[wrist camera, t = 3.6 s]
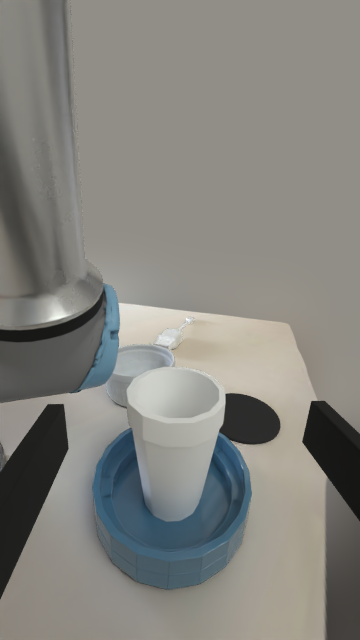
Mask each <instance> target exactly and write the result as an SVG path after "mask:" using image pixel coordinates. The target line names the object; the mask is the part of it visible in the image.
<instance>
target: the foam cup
mask: <svg viewBox="0 0 360 640" xmlns="http://www.w3.org/2000/svg"><path fill="white" fill-rule="evenodd" d="M126 392H127V415H128V421H129V426H130V427H131V428H132V431H133V437H134V443H135V449H136V454H137V460H138V466H139V472H140V477H141V483H142V489H143V495H144V500H145V505H146V506H147V508H148V509H149V510H150V512H151V513H152V514H153V516H155V517H157V518H160V519H162V520H164V521H166V522H168V521H181V520H183V519H185V518H186V517H188V516H190V515H191V514H193V512H194V510H195V509H196V507H197V505H198V504H199V500H200V499H201V495H202V491H203V488H204V484H205V480H206V477H207V473H208V469H209V466H210V462H211V458H212V455H213V451H214V447H215V444H216V440H217V436H218V433H219V429H220V428H221V426H222V425H223V421H224V412H225V403H226V400H225V389H224V388H223V386H222V385H221V384H220V383H219V382H218V381H217V379H216V378H214V377H212V376H210V375H208V374H206V373H204V372H202V371H200V370H195V369H191V368H186V367H162V368H157V369H153V370H148V371H146V372H144V373H143V374H141V375H139V376H137V377H136V378H134V379H133V381H132V382H131V384H130V385H129V387H128V388H127V390H126Z"/></svg>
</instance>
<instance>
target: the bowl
mask: <svg viewBox="0 0 360 640" xmlns="http://www.w3.org/2000/svg"><path fill="white" fill-rule="evenodd" d="M92 489H93V502H94V513H95V520H96V526H97V533H98V538H99V540H100V541H101V543H102V545H103V547H104V549H105V550H106V552H107V554H108V556H109V557H110V559H111V561H112V562H113V563H114V564H115V565H116V566H117V567H119V568H120V569H121V570H123V571H124V572H125V573H126V574H128V575H129V576H130V577H132V578H133V579H134V580H135V581H137V582H139V583H143V584H147V585H151V586H155V587H159V588H163V589H168V590H170V589H176V588H182V587H188V586H193V585H199V584H201V583H202V582H204V581H205V580H207V579H208V578H210V577H211V576H213V575H214V574H216V573H217V572H219V571H220V570H222V569H224V568H225V567H226V565H227V564H228V563H229V561H230V560H231V558H232V557H233V555H234V554H235V552H236V551H237V549H238V548H239V546H240V545H241V543H242V539H243V535H244V531H245V527H246V523H247V519H248V513H249V507H250V501H251V495H252V492H251V483H250V475H249V470H248V468H247V466H246V464H245V462H244V459H243V457H242V455H241V453H240V451H239V450H238V449H237V448H236V447H235V446H234V445H233V443H232V442H231V441H230V440H229V439H228V438H227V437H226V436H225V435H223V434H222V433H220V432H219V433H218V436H217V440H216V444H215V447H214V451H213V455H212V458H211V462H210V466H209V469H208V473H207V477H206V480H205V484H204V488H203V491H202V495H201V499H200V500H199V504H198V505H197V507H196V509H195V510H194V512H193V514H191V515H190V516H188V517H186V518H185V519H183V520H181V521H168V522H166V521H164V520H162V519H160V518H157V517H155V516H153V514H152V513H151V512H150V510H149V509H148V508H147V506H146V505H145V500H144V495H143V489H142V483H141V477H140V472H139V466H138V460H137V454H136V449H135V443H134V437H133V431H132V428H129V429H128V430H126V431H124V432H122V433H121V434H120V435H119V436H118V437H117V438H116V439H115V440H114V441H113V442H112V443H111V444H110V445H108V447H107V448H106V450H105V452H104V453H103V455H102V457H101V459H100V460H99V462H98V464H97V466H96V471H95V476H94V481H93V486H92Z"/></svg>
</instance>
